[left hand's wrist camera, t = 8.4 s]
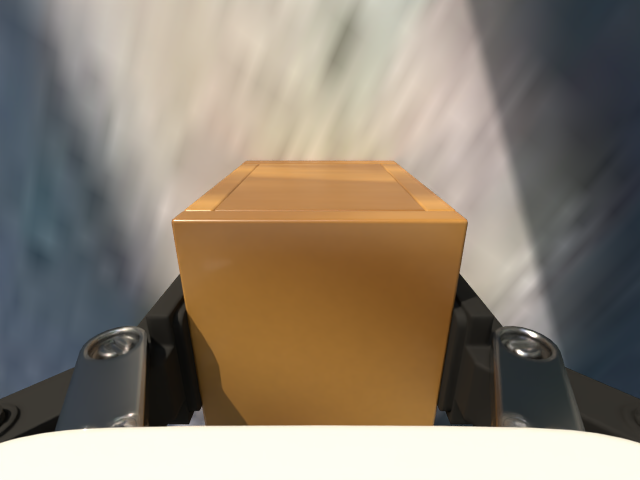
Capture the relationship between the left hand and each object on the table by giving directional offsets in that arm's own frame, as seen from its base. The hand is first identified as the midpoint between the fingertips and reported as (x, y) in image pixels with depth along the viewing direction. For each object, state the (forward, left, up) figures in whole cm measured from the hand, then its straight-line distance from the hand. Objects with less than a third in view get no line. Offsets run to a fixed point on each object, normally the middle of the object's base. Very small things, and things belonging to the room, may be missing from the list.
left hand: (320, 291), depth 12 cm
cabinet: (0, +5, -4) cm, 7 cm away
